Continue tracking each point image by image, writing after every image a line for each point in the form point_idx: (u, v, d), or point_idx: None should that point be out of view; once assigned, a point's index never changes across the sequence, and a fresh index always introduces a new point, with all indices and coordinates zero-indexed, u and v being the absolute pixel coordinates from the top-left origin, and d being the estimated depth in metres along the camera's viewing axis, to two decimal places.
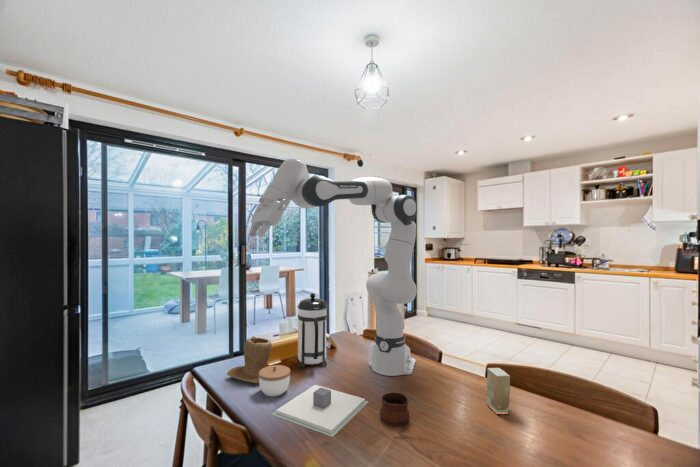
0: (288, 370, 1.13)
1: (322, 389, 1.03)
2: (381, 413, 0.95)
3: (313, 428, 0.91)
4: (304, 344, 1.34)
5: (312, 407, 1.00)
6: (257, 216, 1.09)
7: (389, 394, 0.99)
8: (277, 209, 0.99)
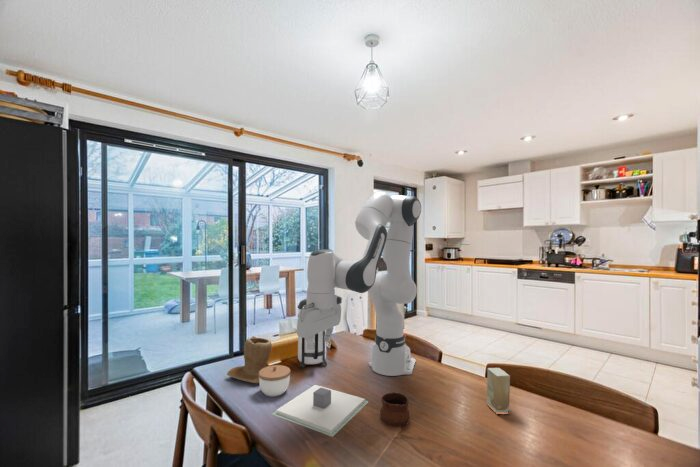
0: (288, 370, 1.13)
1: (322, 389, 1.03)
2: (381, 413, 0.95)
3: (313, 428, 0.91)
4: (304, 344, 1.34)
5: (312, 407, 1.00)
6: None
7: (389, 394, 0.99)
8: (300, 322, 0.94)
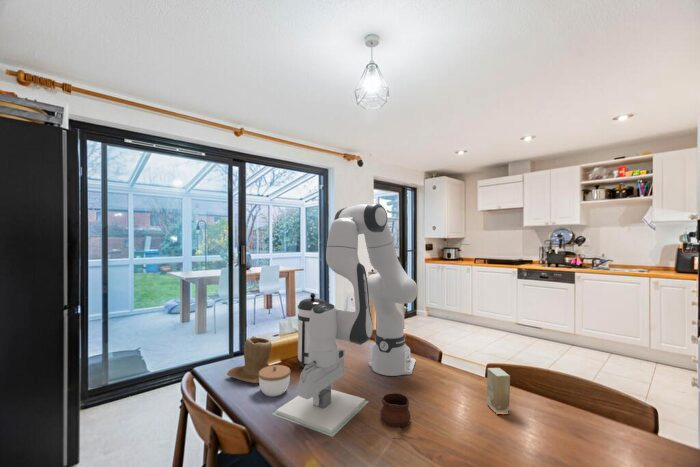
0: (288, 370, 1.13)
1: None
2: (381, 413, 0.95)
3: (313, 428, 0.91)
4: (304, 344, 1.34)
5: (312, 407, 1.00)
6: None
7: (390, 395, 0.99)
8: (302, 383, 0.94)
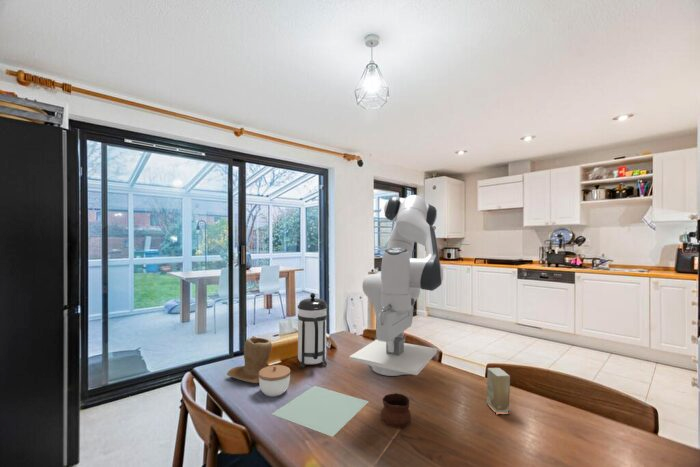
0: (288, 370, 1.13)
1: None
2: (382, 414, 0.95)
3: (313, 428, 0.91)
4: (304, 344, 1.34)
5: (386, 355, 0.94)
6: None
7: (391, 395, 0.99)
8: (380, 325, 0.88)
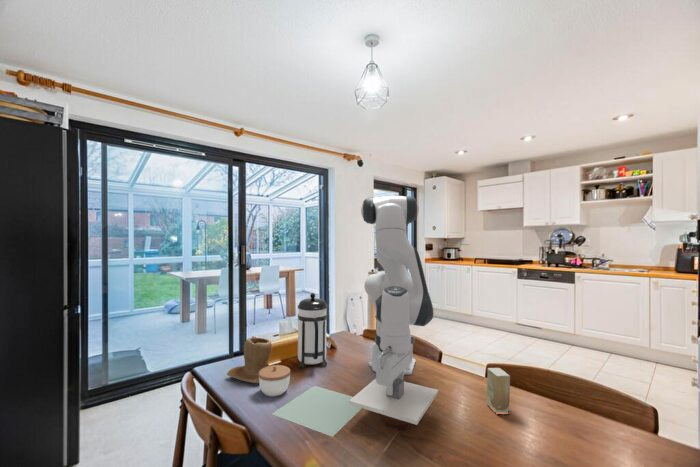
0: (288, 369, 1.13)
1: None
2: (383, 415, 0.94)
3: (313, 428, 0.91)
4: (304, 344, 1.34)
5: (386, 398, 0.94)
6: None
7: None
8: (380, 369, 0.88)
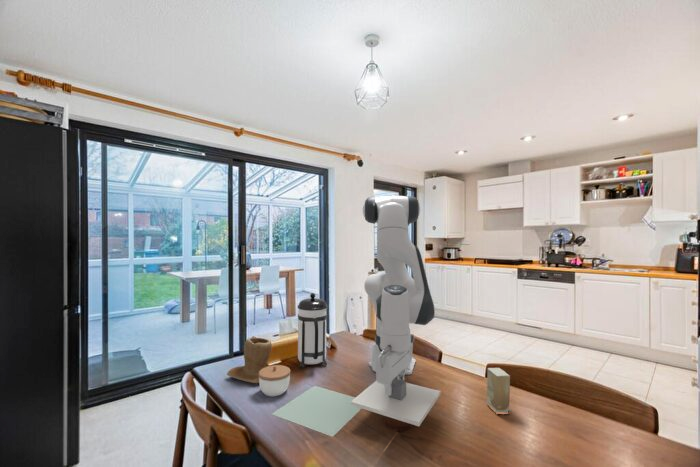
0: (288, 370, 1.13)
1: (396, 380, 0.97)
2: (384, 416, 0.93)
3: (313, 428, 0.91)
4: (304, 344, 1.34)
5: (388, 399, 0.93)
6: None
7: None
8: (380, 368, 0.88)
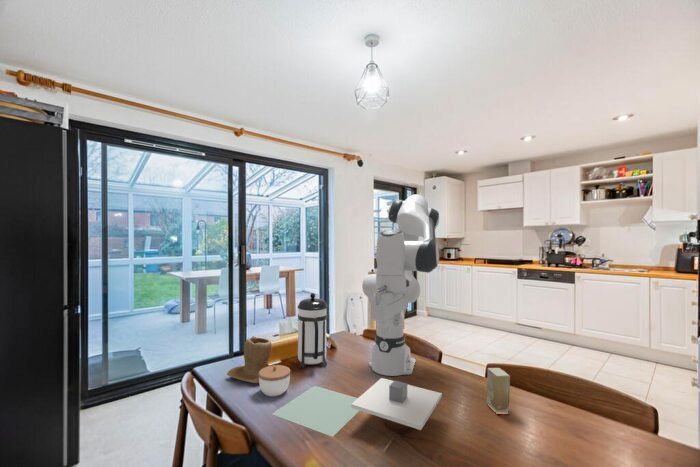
0: (288, 370, 1.13)
1: (397, 382, 0.95)
2: None
3: (313, 428, 0.91)
4: (304, 344, 1.34)
5: (389, 402, 0.92)
6: None
7: None
8: (375, 305, 0.89)
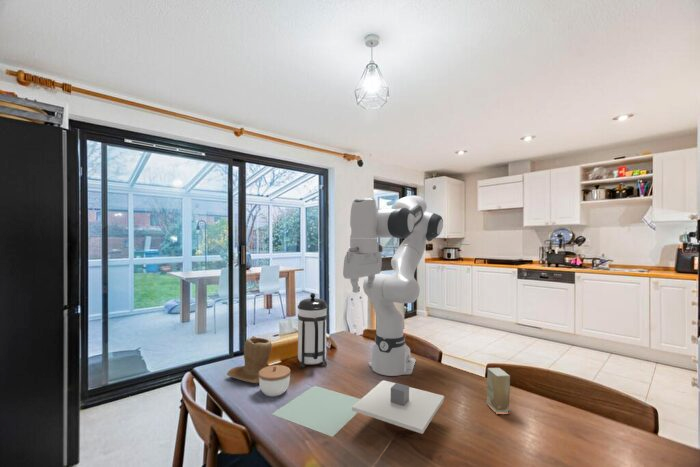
0: (288, 370, 1.13)
1: (399, 385, 0.94)
2: None
3: (313, 428, 0.91)
4: (304, 344, 1.34)
5: (391, 405, 0.90)
6: None
7: None
8: (347, 263, 0.96)
